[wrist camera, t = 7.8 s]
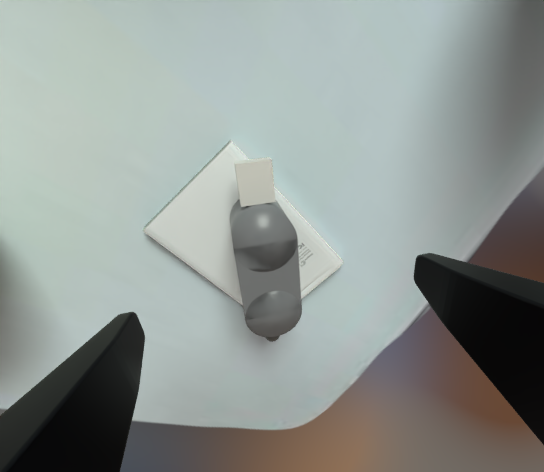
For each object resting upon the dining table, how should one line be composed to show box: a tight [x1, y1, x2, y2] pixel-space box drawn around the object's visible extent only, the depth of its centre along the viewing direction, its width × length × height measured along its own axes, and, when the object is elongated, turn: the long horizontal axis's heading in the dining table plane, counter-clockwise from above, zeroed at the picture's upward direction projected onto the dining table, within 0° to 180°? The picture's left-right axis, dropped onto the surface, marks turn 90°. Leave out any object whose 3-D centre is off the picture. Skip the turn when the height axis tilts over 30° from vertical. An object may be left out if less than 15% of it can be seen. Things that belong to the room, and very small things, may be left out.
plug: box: [230, 157, 302, 342], centre depth 19 cm, size 14×4×4 cm, turn 5°
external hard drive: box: [143, 140, 343, 305], centre depth 21 cm, size 2×8×12 cm
